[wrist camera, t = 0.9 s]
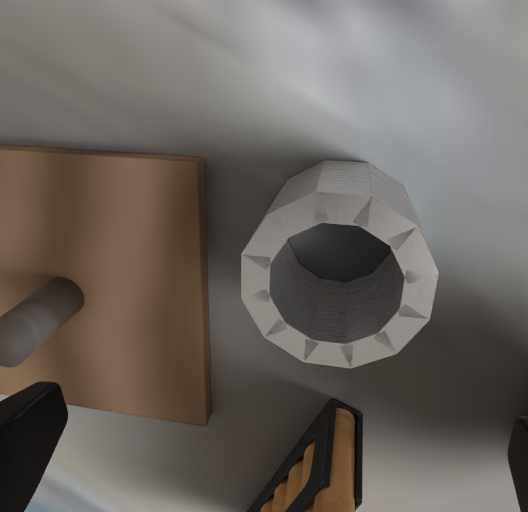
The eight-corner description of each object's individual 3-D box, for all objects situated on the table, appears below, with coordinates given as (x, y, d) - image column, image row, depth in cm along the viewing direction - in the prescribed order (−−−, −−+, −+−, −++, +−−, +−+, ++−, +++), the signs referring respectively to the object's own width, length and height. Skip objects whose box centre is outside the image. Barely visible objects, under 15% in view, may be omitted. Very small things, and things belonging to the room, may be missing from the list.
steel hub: (428, 165, 18) (452, 201, 14) (405, 307, 21) (418, 377, 16) (268, 156, 19) (241, 186, 15) (265, 292, 22) (240, 354, 17)
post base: (204, 157, 20) (152, 190, 15) (211, 413, 25) (176, 500, 20) (-79, 140, 22) (-207, 163, 17) (-15, 378, 27) (-97, 449, 22)
